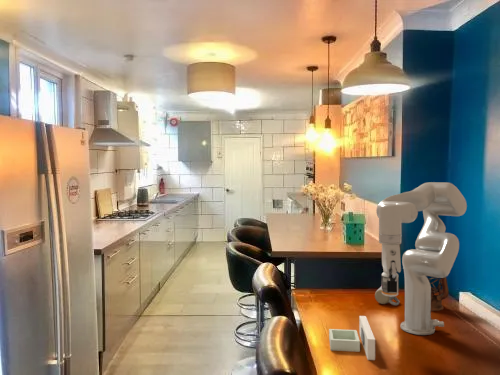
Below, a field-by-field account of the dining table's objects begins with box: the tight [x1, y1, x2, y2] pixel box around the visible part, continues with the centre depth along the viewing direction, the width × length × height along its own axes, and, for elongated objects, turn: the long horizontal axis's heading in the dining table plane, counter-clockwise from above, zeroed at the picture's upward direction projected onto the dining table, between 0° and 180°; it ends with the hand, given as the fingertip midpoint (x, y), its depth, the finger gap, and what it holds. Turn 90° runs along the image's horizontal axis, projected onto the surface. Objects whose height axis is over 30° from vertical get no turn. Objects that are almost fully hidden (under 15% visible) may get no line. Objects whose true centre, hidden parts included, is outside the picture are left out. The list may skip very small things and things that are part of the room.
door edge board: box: [358, 315, 376, 361], centre depth 148 cm, size 3×22×7 cm, turn 172°
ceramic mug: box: [374, 285, 401, 306], centre depth 194 cm, size 11×8×8 cm
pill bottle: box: [381, 266, 400, 297], centre depth 146 cm, size 6×6×10 cm
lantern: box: [427, 276, 450, 312], centre depth 189 cm, size 17×13×30 cm
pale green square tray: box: [328, 328, 361, 353], centre depth 149 cm, size 10×10×4 cm
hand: (390, 288), depth 146 cm, fingers closed on pill bottle, 5 cm apart
